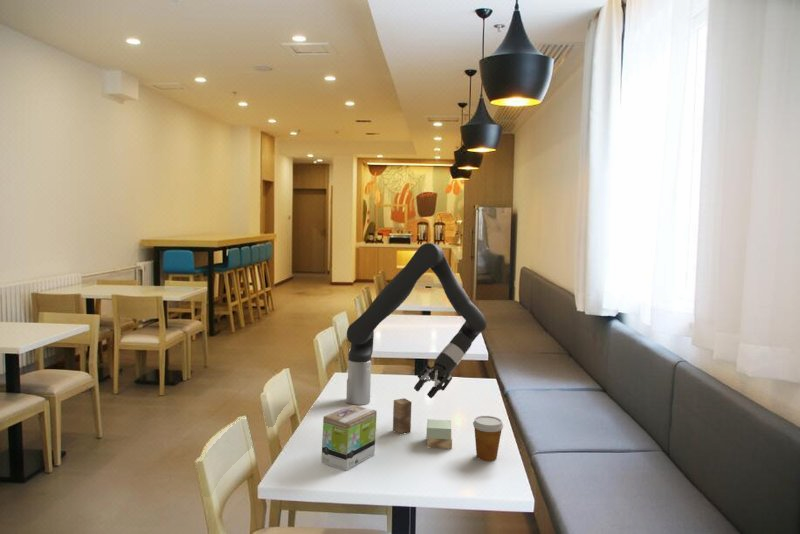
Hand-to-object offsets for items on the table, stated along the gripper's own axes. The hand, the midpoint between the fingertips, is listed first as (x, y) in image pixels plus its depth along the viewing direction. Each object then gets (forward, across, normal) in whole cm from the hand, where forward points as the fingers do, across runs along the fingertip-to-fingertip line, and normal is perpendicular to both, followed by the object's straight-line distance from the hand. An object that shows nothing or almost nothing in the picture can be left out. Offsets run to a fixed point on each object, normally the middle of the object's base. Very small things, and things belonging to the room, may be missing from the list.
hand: (422, 393), depth 206 cm
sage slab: (+9, +15, +4) cm, 18 cm away
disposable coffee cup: (+6, +31, +12) cm, 34 cm away
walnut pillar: (+15, 0, +3) cm, 15 cm away
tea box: (+34, +12, -16) cm, 39 cm away
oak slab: (+11, +15, +7) cm, 20 cm away
